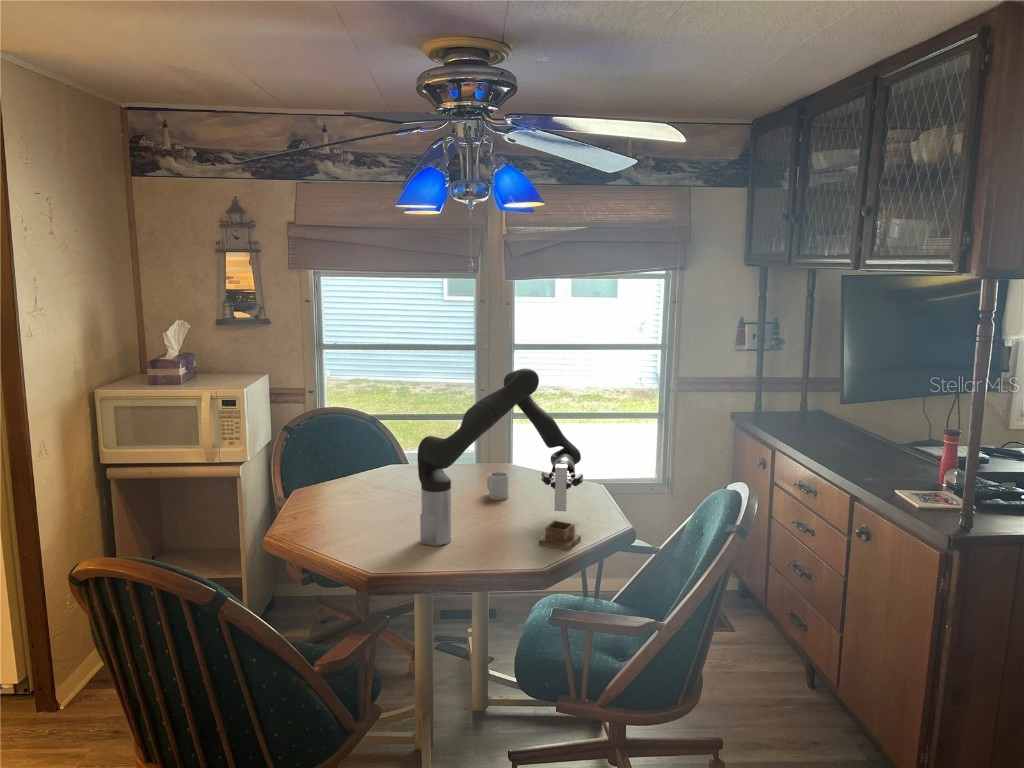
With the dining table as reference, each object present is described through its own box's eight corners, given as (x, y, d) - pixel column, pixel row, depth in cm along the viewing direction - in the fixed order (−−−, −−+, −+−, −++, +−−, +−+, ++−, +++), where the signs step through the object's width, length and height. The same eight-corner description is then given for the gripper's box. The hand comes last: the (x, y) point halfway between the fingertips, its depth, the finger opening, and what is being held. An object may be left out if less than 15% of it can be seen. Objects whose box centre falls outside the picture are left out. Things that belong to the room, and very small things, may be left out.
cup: (497, 501, 277) (498, 478, 275) (480, 495, 284) (480, 472, 283) (512, 497, 282) (512, 474, 280) (494, 491, 289) (495, 469, 287)
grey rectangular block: (566, 511, 232) (566, 467, 230) (554, 510, 233) (555, 467, 231) (566, 507, 236) (567, 464, 234) (555, 507, 236) (555, 464, 234)
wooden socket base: (568, 550, 229) (568, 533, 228) (538, 544, 234) (539, 528, 233) (580, 540, 238) (580, 523, 237) (551, 534, 243) (551, 518, 242)
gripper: (542, 458, 247) (537, 473, 230) (585, 460, 246) (584, 475, 229) (541, 480, 248) (537, 496, 232) (584, 482, 247) (583, 498, 230)
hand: (560, 485), depth 230 cm, fingers closed on grey rectangular block, 3 cm apart
